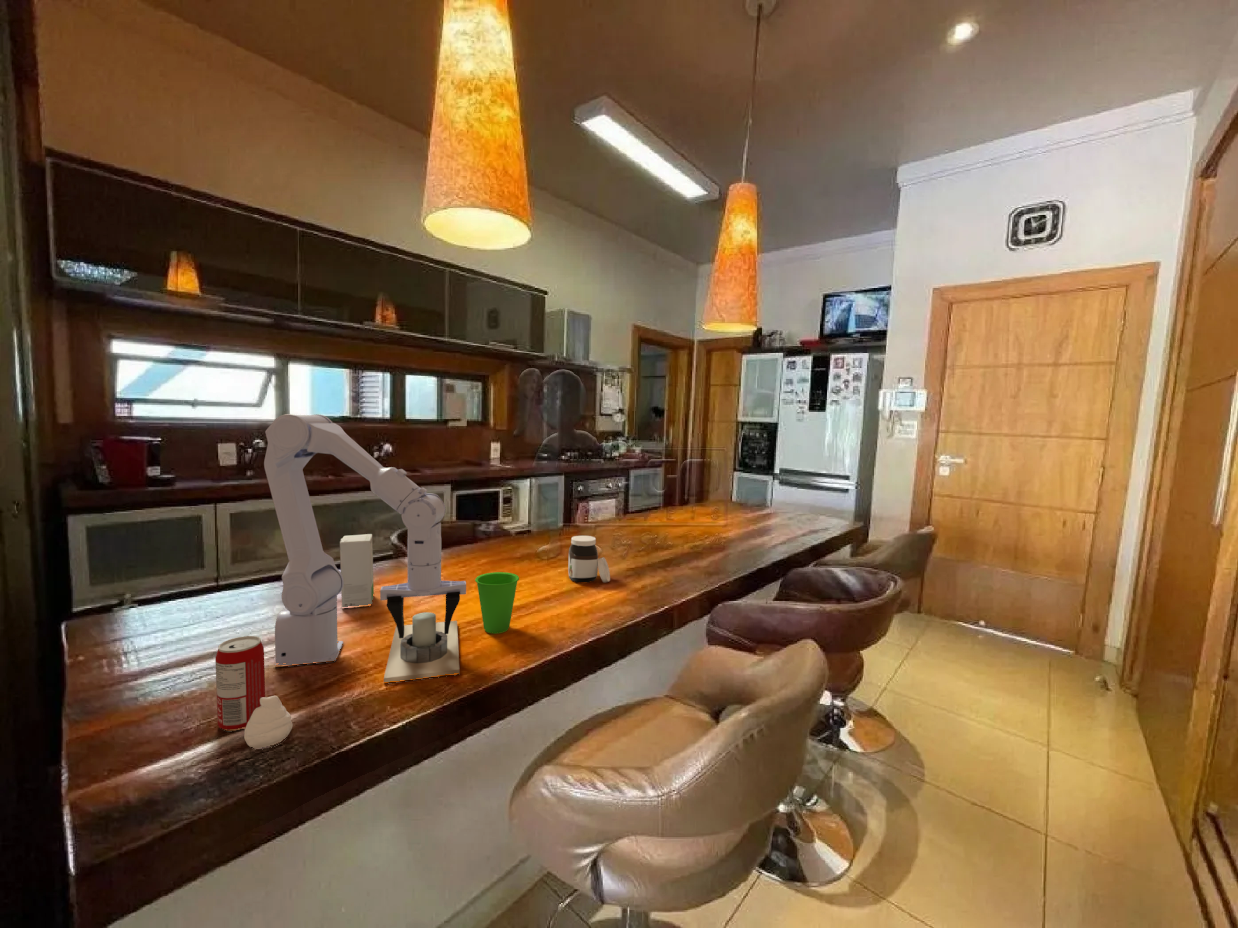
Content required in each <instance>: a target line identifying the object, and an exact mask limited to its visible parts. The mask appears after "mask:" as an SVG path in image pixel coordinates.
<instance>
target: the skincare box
mask: <svg viewBox="0 0 1238 928" xmlns="http://www.w3.org/2000/svg"><path fill="white" fill-rule="evenodd" d="M373 549H374V547H373V534H372V533H367V534H366V533H365V534H353V535H344V536H343V537H342V538H340V541H339V555H340V561H339V562H340V572H341V574H342V576H343V579H344V585H343V588H342V590H341V592H340V594H341V608H342V607H348V606H359V605H368V604H372V605H373V602H372V600H373V601H374V597H373V594H374V595H375V593H374V591H375V590H374V589H375V588H374V587H375V585H374V558H373V553H374V552H373Z"/></svg>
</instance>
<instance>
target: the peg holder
mask: <svg viewBox="0 0 1238 928" xmlns="http://www.w3.org/2000/svg"><path fill="white" fill-rule="evenodd" d="M444 624H445V621H438V622H437V621H436V644H434V645H431V646H427V647H413V646H412V624H404V638H399V633H398V629H397V626H396V625H395V629H394V633H393V638H392V642H391V646H390V650H389V653H388V658H387V663H386V667H385V671H384V675H383V676H384V677H383V683H384V682H390V681H400V680H410V679H416V678H423V677H431V676H437V675H445V674H454V673H459V674H460V658H459V657H460V655H459V653H460V652H459V638H458V637H459V635H458V621H457V620H451V622H450V626H449V632H448V634H444Z"/></svg>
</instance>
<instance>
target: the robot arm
mask: <svg viewBox="0 0 1238 928" xmlns="http://www.w3.org/2000/svg"><path fill="white" fill-rule="evenodd" d="M265 436H266V440H267V445H266V446H267V447H266V452H265V457H264V461H263V466H264V471H265V474H266V475H265V476H266V479H267V482H268V486H269V490H270V494H271V498H272V501H273V504H274V505H273V506H274V510H275V513H276V517H277V520H278V524H279V528H280V533H281V535H282V540H283V543H284V544H283V545H284V547H285V550H286V554H287V558H288V563H287V565H286V567H285V569H284V571H283V573H282V575H281V580H282V584H283V585H282V592H281V602H282V605H283V606H284V607H285V609H283V610H280V611H279V612H278V614H277V616H276V619H275V626H274V647H275V649H274V650H275V651H274V653H275V657H274V658H275V659H274V660H275V663H279V664H278V665H292V664H303V663H313V662H326V661H334V660H335V661H337V659H336V658H338V657H339V654H340V652H339V651H341V650H340V649H342V647H343V645H344V641H343V640H338V595H339V594H341V590H342V588H343V585H344V579H343V576H342V574H341V570H339V568H337V566H336V565H335V559H334V558H333V557H332V556H331V555H329V554H327V553H326V552H324V549H323V546H322V542H321V541H322V540H321V537H320V532H319V530H318V529H319V528H318V525H317V521H316V517H315V513H314V509H313V506H312V501H311V497H310V494H309V491H308V490H309V489H308V486H307V482H306V479H305V475H304V471H303V469H304V468H305V467H306V465H307V464H308V463H309V461H310V460H311V459H312V458H313V457H314V456H315V455H316V454H326V455H332V456H334V457H335V458H336V459H338V460H339V461H340V462H342V463H343V464H345V465H346V466H347V467H349V468H351V469H352V470H353V471H354V472H356V473H358V475H360V476H362V477H363V478H365V479H366V480H367V481H369V484H370V490H371V491H370V492H372V493H373V494H374V495H375V496H377V497H378V498H379V499H381V500H382V501H383V503H386V504H387V505H388V506H389V507H390V508H392V509H393V510H394V511H396V513H398V514H399V515H401V520H402V523H403V525H404V526H405V527H406V528H407V582H405V583H404V582H403V583H398V584H392V585H383V586H382V585H381V587H380V590H379V592H380V593H379V594H380V596H379V597H380V598H379V599H380V601H386V607H387V609H388V611H389V612H390V614H391V616H392V619H393V621H394V623H395V627H396V626H397V629H398V633H399V638H404V625H405V619H404V601H405V600H404V598H414V597H415V598H416V597H428V596H443V595H445V615H444V622H445V624H444V634H448V632H449V626H450V622H451V621H452V619H453V616H454V613H455V611H456V609H457V607H458V605H459V603H460V600H461V595H466V594H467V582H466V580H461V581H460V580H455V581H454V580H442V522H441V521H442V519H444V517H445V515H446V505H445V503H444V501H443V500H442V498H441V497H440V496H439V495H438V494H436V493H432V492H428V489H426V488H425V487H420V486H419V485H417V483H415V482H414V481H413V480H411V479H410V478H409V477H407V474H408V473H407V471H406V470H404V469H403V468H400V469H397V468H396V467H394V466H393V467H392V466H391V467H384V466H383V465H382V464H381V463H380V462H379V461H377V460H376V459H375V458H374V457H373V456H371V454H370V453H368V452H367V451H366V450H365V449H364V448H363V447H362V446H360V445H359V444H358V443H357V442H356V441H355V440H354V439H353V438H352V437H350V436H349V435H348V434H347V433H346V432H345V431H344V429H343V428H342V427H341V426H340V425H339V424H337V423H335V422H333V421H332V420H331V419H330V417H328V416H325V415H323V414H293V413H287V414H282V415H280V416H278V417H277V418H275V419H274V420H273V421H272V423H271V424H269V426H268V427H267V429H266V430H265ZM337 642H338V643H337ZM342 644H343V645H342ZM335 661H334V662H335ZM275 663H274V665H276V664H275ZM283 663H286V664H283ZM326 663H327V662H326Z"/></svg>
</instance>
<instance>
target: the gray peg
mask: <svg viewBox="0 0 1238 928" xmlns="http://www.w3.org/2000/svg"><path fill="white" fill-rule="evenodd" d="M411 619H412V623H411V625H412V646H413V647H427V646H431V645H434V644H436V622H437V615H436V613H433V612H426V611H425V612H420V613H416V614H414V615H413V616H412V618H411Z"/></svg>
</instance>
